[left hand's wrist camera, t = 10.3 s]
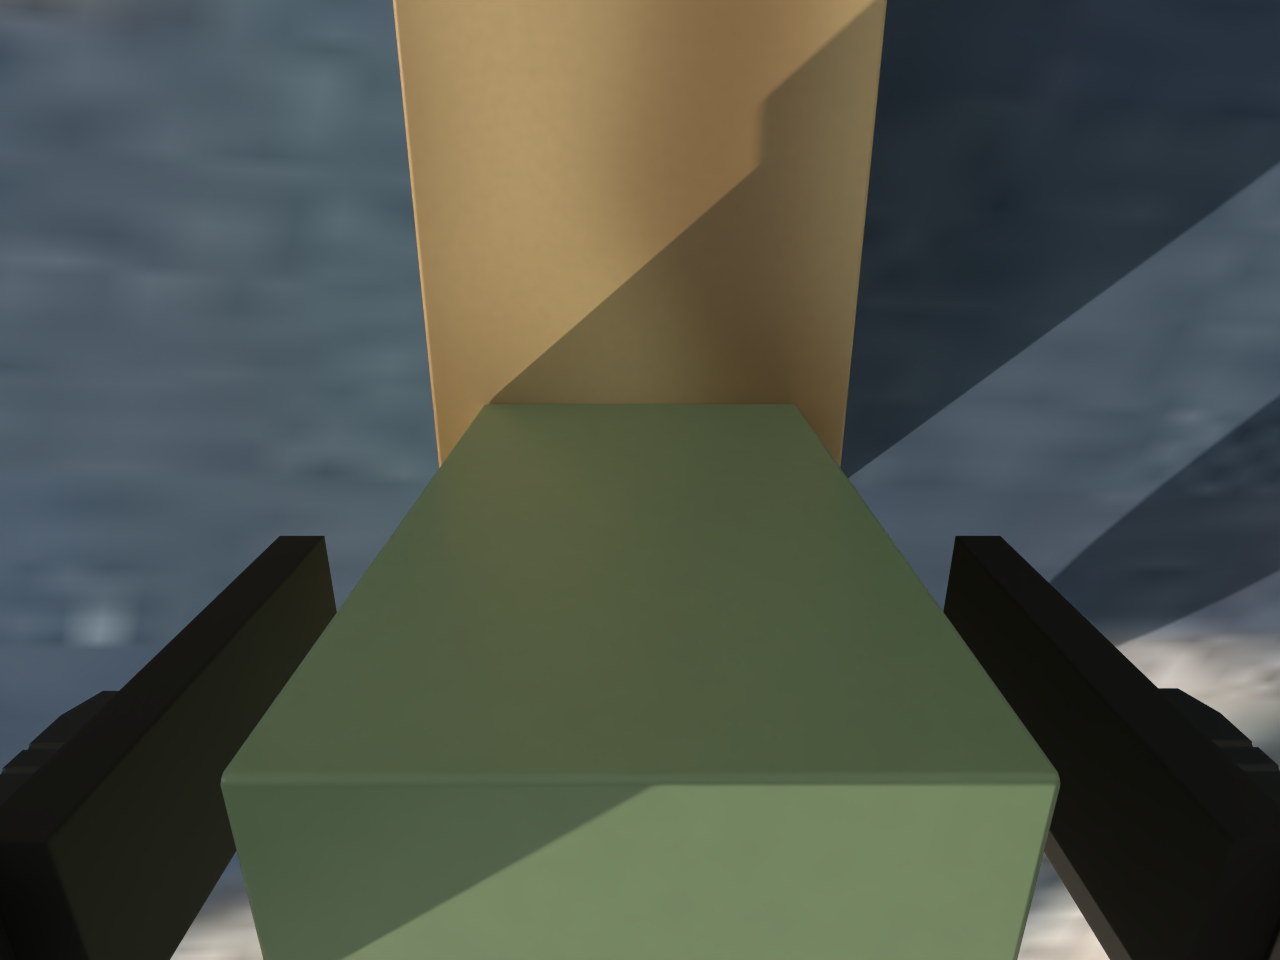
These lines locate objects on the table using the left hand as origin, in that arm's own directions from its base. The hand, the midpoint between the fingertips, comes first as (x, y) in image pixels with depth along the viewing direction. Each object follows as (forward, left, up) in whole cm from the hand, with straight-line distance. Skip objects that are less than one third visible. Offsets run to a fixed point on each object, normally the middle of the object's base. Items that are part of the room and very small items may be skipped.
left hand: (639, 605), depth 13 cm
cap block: (0, 0, -2) cm, 2 cm away
